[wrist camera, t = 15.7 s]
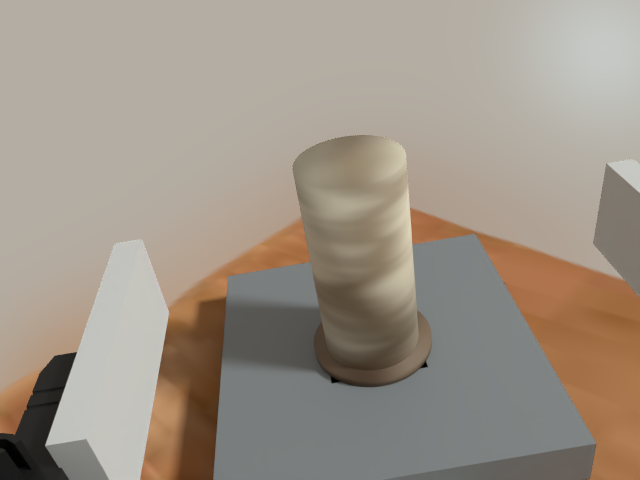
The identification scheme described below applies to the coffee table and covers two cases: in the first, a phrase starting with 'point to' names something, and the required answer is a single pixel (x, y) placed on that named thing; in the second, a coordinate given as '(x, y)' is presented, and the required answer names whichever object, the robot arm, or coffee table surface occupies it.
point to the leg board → (395, 387)
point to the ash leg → (362, 260)
